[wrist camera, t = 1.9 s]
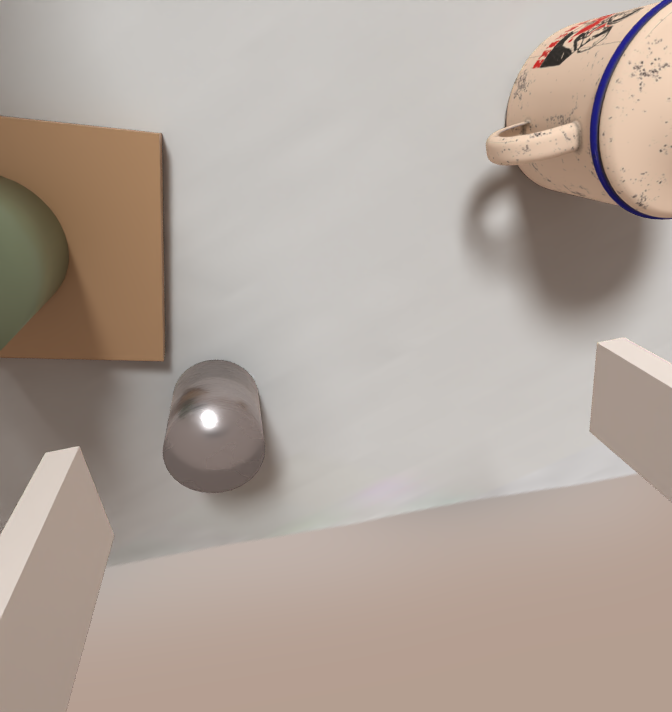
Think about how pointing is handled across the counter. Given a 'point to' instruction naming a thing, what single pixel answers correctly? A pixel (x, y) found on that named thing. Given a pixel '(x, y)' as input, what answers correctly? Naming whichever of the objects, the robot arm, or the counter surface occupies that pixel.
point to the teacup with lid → (597, 112)
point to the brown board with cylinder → (80, 242)
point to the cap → (214, 428)
